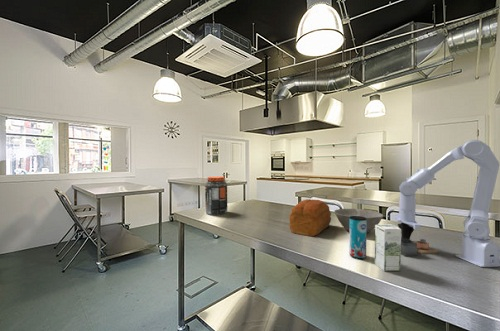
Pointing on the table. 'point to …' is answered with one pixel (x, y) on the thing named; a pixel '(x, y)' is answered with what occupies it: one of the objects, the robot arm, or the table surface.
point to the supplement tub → (216, 196)
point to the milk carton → (388, 247)
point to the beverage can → (358, 237)
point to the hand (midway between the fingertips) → (405, 241)
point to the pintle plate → (426, 251)
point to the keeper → (408, 247)
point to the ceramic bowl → (371, 216)
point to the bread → (309, 217)
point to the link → (422, 244)
